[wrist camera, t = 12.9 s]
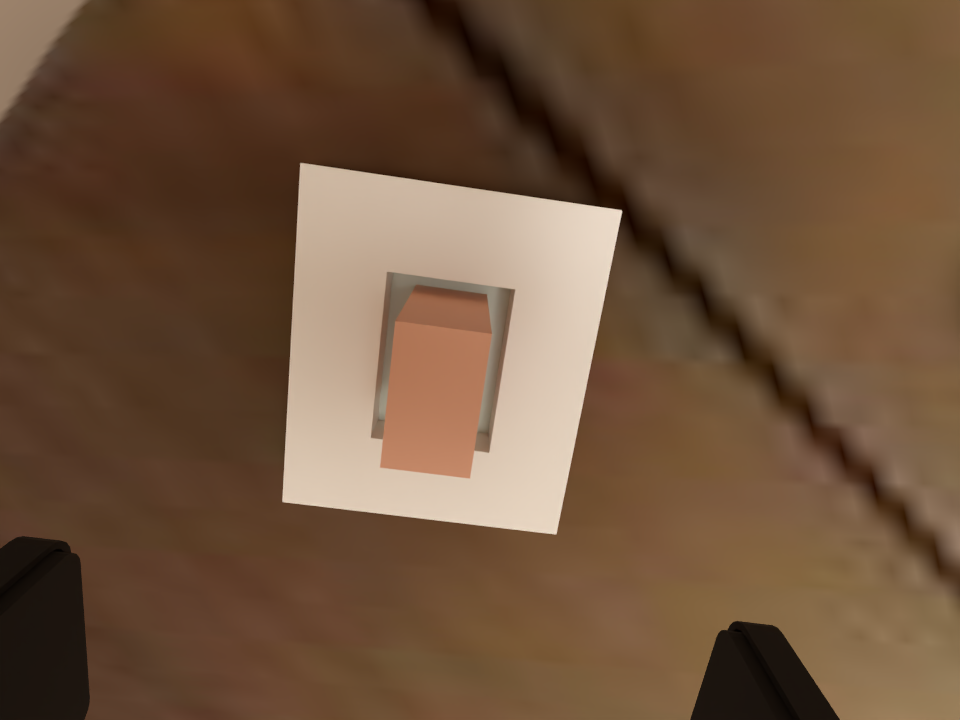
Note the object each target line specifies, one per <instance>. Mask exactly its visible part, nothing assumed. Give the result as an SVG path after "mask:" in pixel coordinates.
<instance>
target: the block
mask: <svg viewBox="0 0 960 720" xmlns="http://www.w3.org/2000/svg"><path fill="white" fill-rule="evenodd" d="M491 337H492V331H491V323H490V315H489V307H488V299H487V294H481V293H474V292H467V291H459V290H452V289H445V288H438V287H431V286H423V285H416V286H415V288H414V289H413V291H412V293H411V295H410V296H409V298H408V300H407V301H406V303H405V305H404V307H403V308H402V310H401V312H400V314H399V315H398V317H397V319H396V320H395V328H394V337H393V347H392V357H391V366H390V376H389V385H388V395H387V405H386V414H385V424H384V434H383V443H382V453H381V463H380V468H388V469H396V470H404V471H412V472H420V473H429V474H437V475H445V476H453V477H461V478H469V479H470V475H471V469H472V462H473V455H474V449H475V442H476V436H477V429H478V423H479V416H480V409H481V403H482V396H483V390H484V383H485V376H486V370H487V363H488V357H489V350H490V344H491Z"/></svg>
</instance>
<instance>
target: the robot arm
mask: <svg viewBox="0 0 960 720" xmlns="http://www.w3.org/2000/svg"><path fill="white" fill-rule="evenodd" d="M89 700H90V695H89V681H88V666H87V651H86V637H85V622H84V607H83V593H82V578H81V563H80V558H79V557H78V555H77V554H74V553H71V550H70V546H69V545H68V544H67V543H66V542H64V541H59V540H50V539H42V538H34V537H25V536H22V537H17V538H15V539H13V540H12V541H10V542H9V543H7V544H6V545H5V546H3V547H2V548H1V549H0V720H84V719H85V716H86V714H87V711H88V707H89ZM690 720H840V719H839V718H838V716H837V715H836V713H835V712H834V710H833V709H832V707H831V706H830V704H829V703H828V701H827V700H826V698H825V697H824V695H823V694H822V692H821V691H820V689H819V688H818V686H817V685H816V683H815V682H814V680H813V679H812V677H811V676H810V674H809V673H808V671H807V670H806V668H805V667H804V665H803V664H802V662H801V661H800V659H799V658H798V656H797V655H796V653H795V652H794V650H793V649H792V647H791V646H790V644H789V643H788V641H787V640H786V638H785V637H784V635H783V634H782V632H781V631H780V630H779V629H778V628H777V627H775V626H773V625H765V624H757V623H748V622H740V621H736V622H733V623H732V624H731V625H730V626H729V628H728V630H721V631H720V632H719V633H718V636H717V638H716V641H715V644H714V647H713V650H712V653H711V657H710V660H709V663H708V666H707V669H706V672H705V675H704V679H703V682H702V685H701V688H700V691H699V694H698V697H697V700H696V704H695V707H694V710H693V713H692V716H691V719H690Z"/></svg>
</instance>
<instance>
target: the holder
mask: <svg viewBox="0 0 960 720" xmlns="http://www.w3.org/2000/svg"><path fill="white" fill-rule="evenodd" d="M621 214H622V210H616V209H610V208H603V207H597V206H590V205H583V204H576V203H570V202H563V201H556V200H549V199H543V198H536V197H529V196H522V195H515V194H509V193H502V192H495V191H488V190H482V189H475V188H468V187H461V186H455V185H448V184H441V183H434V182H427V181H421V180H414V179H407V178H400V177H394V176H387V175H380V174H373V173H367V172H360V171H353V170H346V169H339V168H333V167H326V166H319V165H312V164H305V163H300V179H299V198H298V217H297V236H296V255H295V273H294V292H293V311H292V330H291V349H290V368H289V387H288V405H287V424H286V443H285V462H284V481H283V500H282V502H287V503H295V504H304V505H312V506H321V507H329V508H337V509H346V510H354V511H363V512H371V513H380V514H388V515H396V516H405V517H413V518H422V519H430V520H439V521H447V522H456V523H464V524H472V525H481V526H489V527H498V528H506V529H515V530H523V531H531V532H540V533H548V534H556V533H557V528H558V523H559V519H560V514H561V509H562V504H563V499H564V494H565V489H566V484H567V479H568V474H569V469H570V465H571V460H572V455H573V450H574V445H575V440H576V435H577V430H578V425H579V420H580V415H581V411H582V406H583V401H584V396H585V391H586V386H587V381H588V376H589V371H590V366H591V361H592V357H593V352H594V347H595V342H596V337H597V332H598V327H599V322H600V317H601V312H602V307H603V303H604V298H605V293H606V288H607V283H608V278H609V273H610V268H611V263H612V258H613V253H614V249H615V244H616V239H617V234H618V229H619V224H620V219H621ZM416 285H423V286H431V287H438V288H445V289H452V290H459V291H467V292H474V293H481V294H487V299H488V307H489V315H490V323H491V331H492V337H491V344H490V350H489V357H488V363H487V370H486V376H485V383H484V390H483V396H482V403H481V409H480V416H479V423H478V429H477V436H476V442H475V449H474V455H473V462H472V469H471V475H470V479H469V478H461V477H453V476H445V475H437V474H429V473H420V472H412V471H404V470H396V469H388V468H380V463H381V453H382V443H383V434H384V424H385V414H386V405H387V395H388V385H389V376H390V366H391V357H392V347H393V337H394V328H395V320H396V319H397V317H398V315H399V314H400V312H401V310H402V308H403V307H404V305H405V303H406V301H407V300H408V298H409V296H410V295H411V293H412V291H413V289H414V288H415V286H416Z"/></svg>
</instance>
